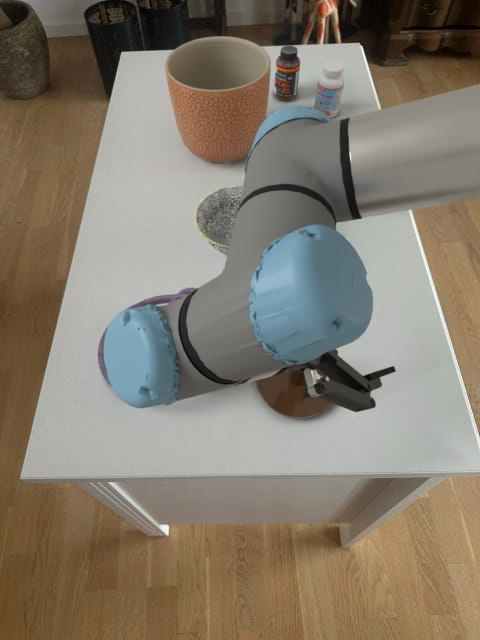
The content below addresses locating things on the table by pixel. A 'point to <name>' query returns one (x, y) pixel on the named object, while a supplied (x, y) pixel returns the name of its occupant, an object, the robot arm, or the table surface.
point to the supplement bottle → (287, 74)
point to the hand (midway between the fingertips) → (367, 321)
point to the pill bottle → (330, 88)
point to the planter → (219, 95)
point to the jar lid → (290, 395)
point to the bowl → (219, 216)
